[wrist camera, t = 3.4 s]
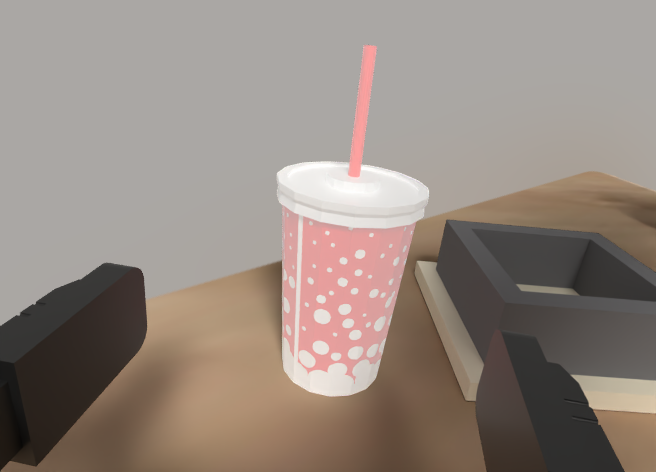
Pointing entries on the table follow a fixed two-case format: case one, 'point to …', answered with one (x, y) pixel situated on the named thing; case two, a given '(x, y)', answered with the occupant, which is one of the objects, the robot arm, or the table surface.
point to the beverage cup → (343, 260)
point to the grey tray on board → (547, 306)
